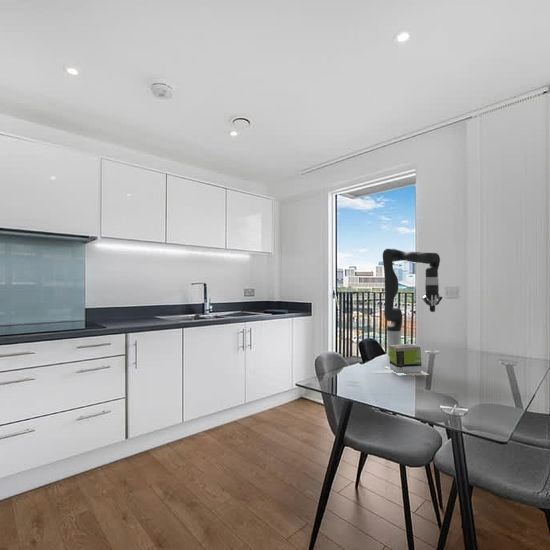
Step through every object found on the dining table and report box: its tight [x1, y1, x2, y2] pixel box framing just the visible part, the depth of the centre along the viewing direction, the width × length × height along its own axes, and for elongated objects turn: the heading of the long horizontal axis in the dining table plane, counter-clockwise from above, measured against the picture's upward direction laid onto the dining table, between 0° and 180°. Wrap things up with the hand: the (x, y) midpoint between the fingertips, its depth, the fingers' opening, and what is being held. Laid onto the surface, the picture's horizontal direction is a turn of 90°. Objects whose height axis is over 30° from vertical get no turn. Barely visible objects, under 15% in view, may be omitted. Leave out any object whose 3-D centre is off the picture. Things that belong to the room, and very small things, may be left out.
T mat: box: [384, 365, 430, 377], centre depth 195 cm, size 20×30×1 cm, turn 96°
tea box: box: [388, 343, 423, 373], centre depth 195 cm, size 15×10×15 cm, turn 95°
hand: (432, 311), depth 208 cm, fingers closed
